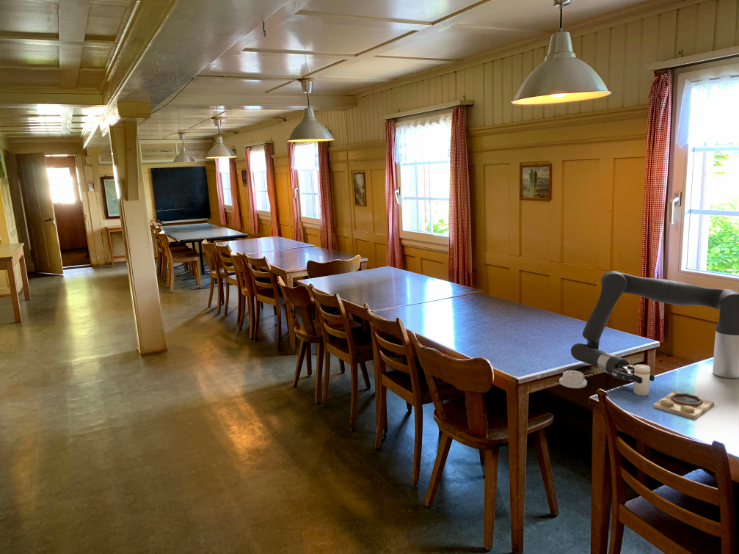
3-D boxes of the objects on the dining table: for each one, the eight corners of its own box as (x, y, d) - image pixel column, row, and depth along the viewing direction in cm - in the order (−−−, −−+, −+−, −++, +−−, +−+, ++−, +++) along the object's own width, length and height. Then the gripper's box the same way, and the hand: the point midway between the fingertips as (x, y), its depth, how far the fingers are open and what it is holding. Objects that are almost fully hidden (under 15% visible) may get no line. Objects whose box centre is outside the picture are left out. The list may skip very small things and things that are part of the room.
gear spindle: (637, 388, 199) (638, 363, 197) (651, 392, 195) (652, 366, 193) (630, 392, 196) (631, 366, 194) (644, 396, 192) (646, 370, 190)
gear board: (674, 394, 193) (674, 388, 192) (714, 405, 183) (714, 398, 182) (653, 407, 183) (653, 401, 183) (694, 419, 173) (695, 413, 173)
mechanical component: (558, 387, 204) (586, 390, 200) (558, 376, 203) (587, 379, 200) (559, 378, 213) (586, 380, 209) (560, 367, 212) (587, 369, 209)
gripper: (598, 358, 205) (632, 372, 189) (628, 353, 209) (663, 366, 193) (597, 376, 206) (631, 392, 190) (627, 371, 210) (662, 386, 194)
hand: (647, 379), depth 192 cm, fingers closed on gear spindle, 5 cm apart
